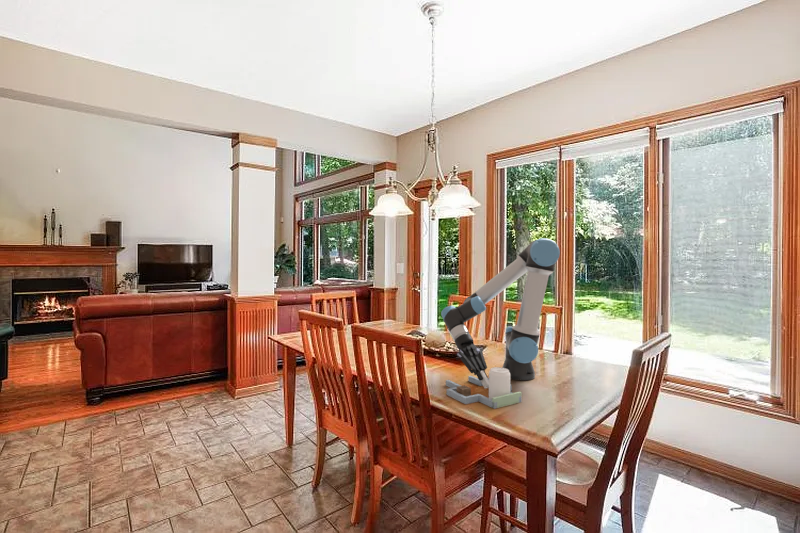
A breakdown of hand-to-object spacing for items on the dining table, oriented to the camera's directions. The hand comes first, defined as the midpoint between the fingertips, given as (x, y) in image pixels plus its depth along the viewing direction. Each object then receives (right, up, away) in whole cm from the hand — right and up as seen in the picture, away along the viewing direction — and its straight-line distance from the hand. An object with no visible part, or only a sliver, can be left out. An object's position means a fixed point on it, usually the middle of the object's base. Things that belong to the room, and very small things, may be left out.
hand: (487, 386), depth 157 cm
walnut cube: (-10, -4, -2) cm, 11 cm away
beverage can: (+4, -4, -4) cm, 7 cm away
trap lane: (-2, -4, +3) cm, 6 cm away
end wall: (+5, -4, -9) cm, 11 cm away
